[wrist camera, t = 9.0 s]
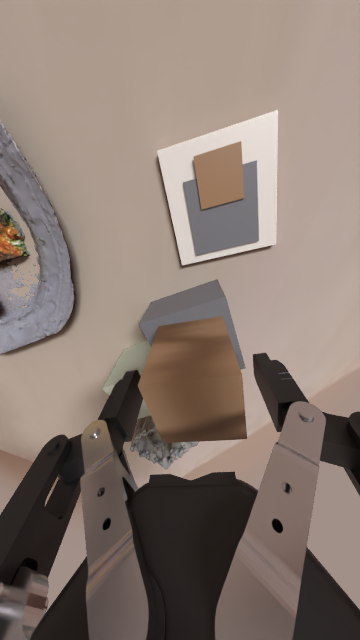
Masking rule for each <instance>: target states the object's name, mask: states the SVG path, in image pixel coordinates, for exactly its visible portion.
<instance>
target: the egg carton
mask: <svg viewBox="0 0 360 640" xmlns="http://www.w3.org/2000/svg"><path fill="white" fill-rule="evenodd" d="M149 432H153V434H152V436H148V434H149ZM146 436H148V437H146ZM198 443H199V441H197V442H178V443H163V441H162V439H161V437H160V435H159V432H158V430H157V428H156V426H155V423H154V421H153V419H152V417H151V416H147V417H146V420H145V422H144V424H143V427H138V429H137V434H136V437H135V439H134V440H133V442H132V443H131V447H130V450H131V451H134V450H137V451H138V452H139V455H140V457H142V456H143V457H146V459H148V460H151V461H152V462H153V463H156V462H157V463H159V464H160V465H161V466H162V467H163V468H165V469H168V467H169V466H170V465H171V464H172V463H173V462H174V460H177V459H178V457H179V458H181V457H182V456H183V454H184V453H185V452H187V451H188V450H189V449H190V448H191V447H194V446H197V444H198Z"/></svg>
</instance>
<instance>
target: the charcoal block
mask: <svg viewBox="0 0 360 640" xmlns="http://www.w3.org/2000/svg"><path fill="white" fill-rule="evenodd" d="M219 316H223V319H224V322H225V325H226V328H227V331H228V334H229V337H230V340H231V343H232V346H233V349H234V352H235V355H236V358H237V361H238V364H239V367H240V369H245V364H244V361H243V357H242V354H241V350H240V347H239V343H238V339H237V336H236V332H235V329H234V325H233V321H232V318H231V314H230V311H229V307H228V304H227V300H226V297H225V294H224V292H223V290H222V288H221V286H220V284H219V282H218V280H214V281H211V282H208V283H205V284H202V285H199V286H196V287H194V288H191V289H188V290H185V291H182V292H179V293H176V294H173V295H170V296H168V297H165V298H162V299H159V300H156V301H153V302H151V304H150V305H149V307H148V309H147V311H146V312H145V314H144V316H143V318H142V320H141V321H140V323H139V326H140V328H141V330H142V331H143V333H144V335H145V337H146V339H147V341H148V342H149V344H150V346H151V347H152V344H153V341H154V338H155V335H156V332H157V330H158V327H159V326H163V325H169V324H175V323H181V322H188V321H194V320H200V319H206V318H213V317H219Z"/></svg>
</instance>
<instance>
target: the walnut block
mask: <svg viewBox="0 0 360 640" xmlns="http://www.w3.org/2000/svg"><path fill="white" fill-rule="evenodd" d="M138 388H139V390H140V392H141V394H142V397H143V399H144V401H145V403H146V406H147V408H148V410H149V412H150V414H151V417H152V419H153V421H154V423H155V426H156V428H157V430H158V432H159V435H160V437H161V439H162V441H163V443H178V442H197V441H216V440H236V439H247V432H246V420H245V407H244V394H243V381H242V373H241V370H240V367H239V364H238V361H237V358H236V355H235V352H234V349H233V346H232V343H231V340H230V337H229V334H228V331H227V328H226V325H225V322H224V319H223V316H219V317H213V318H206V319H200V320H194V321H188V322H181V323H175V324H169V325H163V326H159V327H158V330H157V332H156V335H155V338H154V341H153V344H152V347H151V349H150V352H149V355H148V358H147V361H146V364H145V367H144V369H143V372H142V375H141V378H140V381H139V384H138Z"/></svg>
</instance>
